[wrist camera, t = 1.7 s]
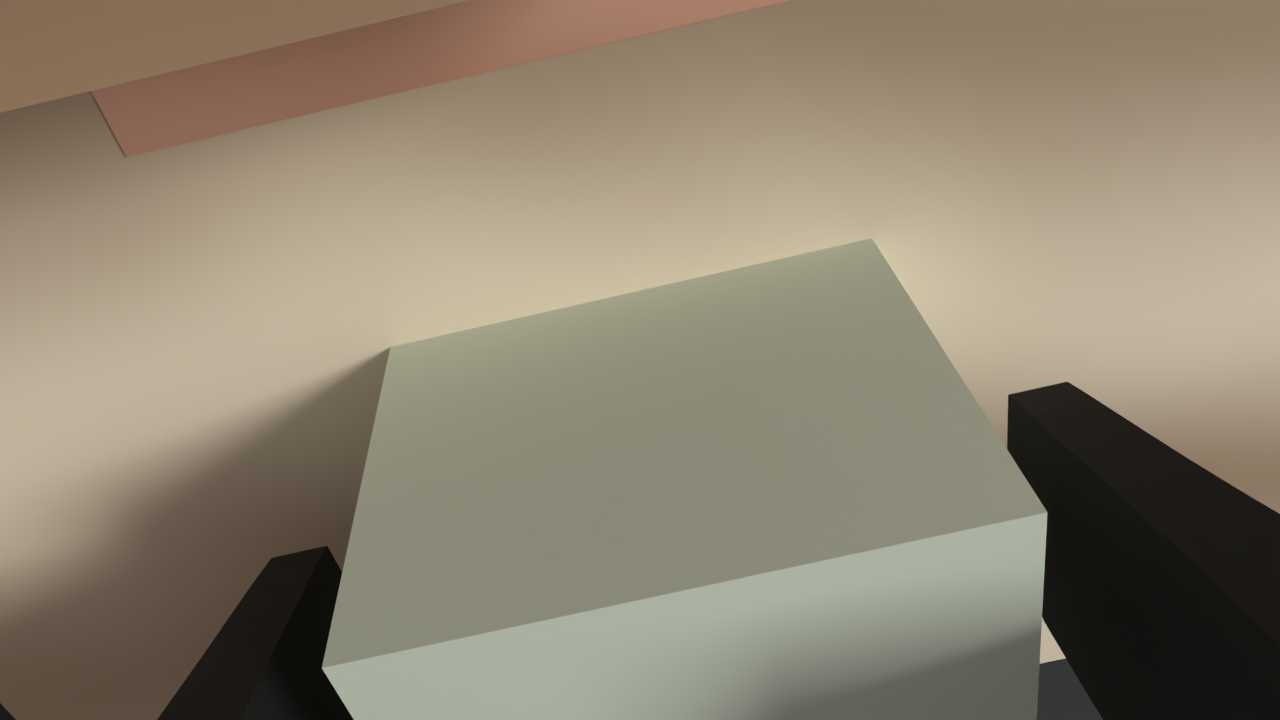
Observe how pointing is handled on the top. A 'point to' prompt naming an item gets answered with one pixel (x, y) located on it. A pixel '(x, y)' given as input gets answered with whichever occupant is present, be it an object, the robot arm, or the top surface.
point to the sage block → (692, 515)
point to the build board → (584, 255)
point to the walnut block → (157, 37)
